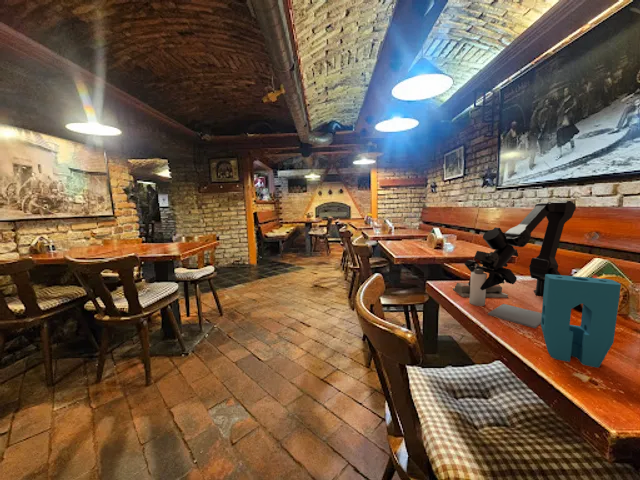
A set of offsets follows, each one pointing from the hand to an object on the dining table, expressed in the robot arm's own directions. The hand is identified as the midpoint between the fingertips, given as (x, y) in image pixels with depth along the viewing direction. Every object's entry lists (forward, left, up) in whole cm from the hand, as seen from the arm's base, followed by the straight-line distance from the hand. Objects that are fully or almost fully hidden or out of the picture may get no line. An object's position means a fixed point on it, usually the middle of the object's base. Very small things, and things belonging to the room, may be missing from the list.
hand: (475, 287), depth 97 cm
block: (+28, +22, -7) cm, 37 cm away
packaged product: (-15, +1, -7) cm, 17 cm away
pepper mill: (-1, +1, -7) cm, 7 cm away
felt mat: (+5, +13, -7) cm, 15 cm away
